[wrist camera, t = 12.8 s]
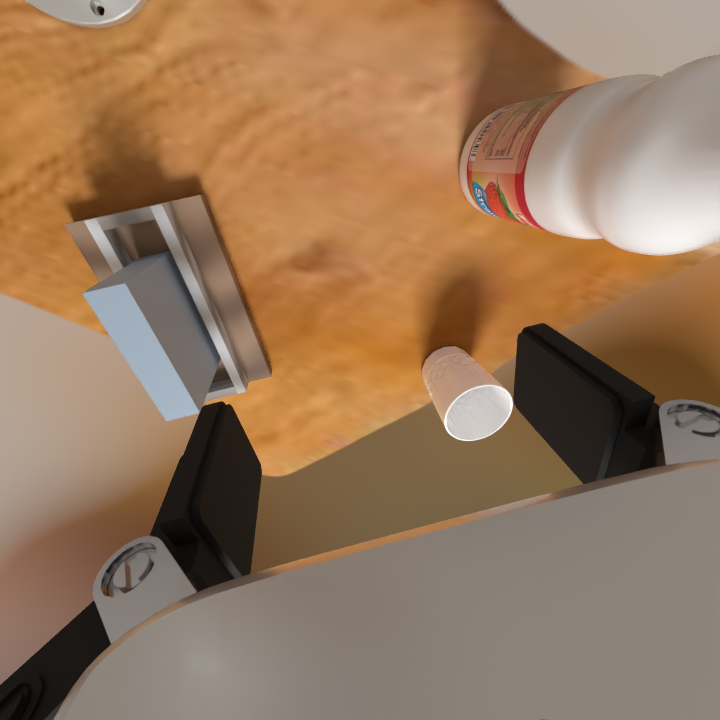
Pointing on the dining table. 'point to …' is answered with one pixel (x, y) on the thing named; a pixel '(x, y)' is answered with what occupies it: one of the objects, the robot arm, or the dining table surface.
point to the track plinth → (184, 276)
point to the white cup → (465, 394)
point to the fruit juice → (607, 161)
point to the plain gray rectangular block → (158, 332)
